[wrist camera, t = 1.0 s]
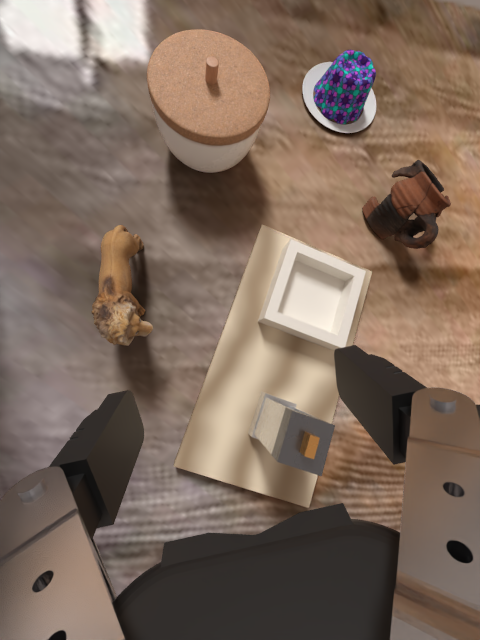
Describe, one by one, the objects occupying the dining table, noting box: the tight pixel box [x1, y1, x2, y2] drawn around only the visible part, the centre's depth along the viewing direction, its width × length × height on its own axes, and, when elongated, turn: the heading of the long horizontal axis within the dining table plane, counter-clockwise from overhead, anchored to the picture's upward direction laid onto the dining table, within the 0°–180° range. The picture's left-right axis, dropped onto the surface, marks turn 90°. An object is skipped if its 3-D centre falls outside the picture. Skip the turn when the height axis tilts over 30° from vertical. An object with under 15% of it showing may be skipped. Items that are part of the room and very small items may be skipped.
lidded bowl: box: [147, 29, 270, 173], centre depth 32 cm, size 13×13×11 cm
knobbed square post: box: [248, 391, 335, 476], centre depth 27 cm, size 4×5×11 cm
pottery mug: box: [362, 160, 451, 249], centre depth 39 cm, size 12×10×8 cm
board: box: [174, 225, 372, 508], centre depth 34 cm, size 16×30×2 cm, turn 161°
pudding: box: [303, 50, 376, 133], centre depth 40 cm, size 12×12×5 cm
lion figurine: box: [92, 225, 153, 346], centre depth 29 cm, size 15×5×9 cm, turn 12°
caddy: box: [258, 239, 366, 350], centre depth 34 cm, size 10×10×3 cm
